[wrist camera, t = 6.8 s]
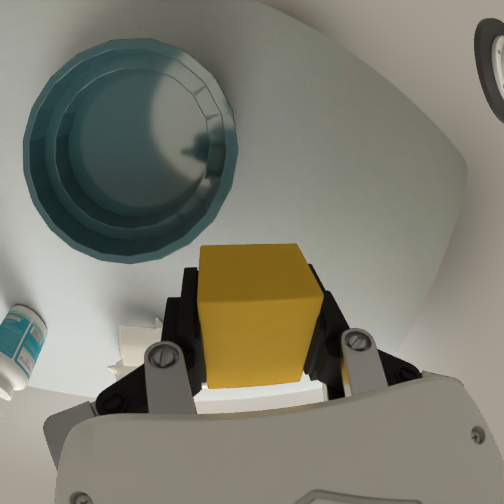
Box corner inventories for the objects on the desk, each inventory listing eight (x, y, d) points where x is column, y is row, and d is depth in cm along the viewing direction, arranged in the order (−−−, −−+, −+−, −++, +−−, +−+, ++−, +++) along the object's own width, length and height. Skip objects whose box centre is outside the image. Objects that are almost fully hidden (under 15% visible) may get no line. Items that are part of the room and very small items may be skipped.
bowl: (137, 18, 16) (116, -1, 11) (272, 140, 24) (288, 151, 19) (31, 162, 21) (-2, 180, 16) (149, 262, 29) (138, 297, 23)
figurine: (189, 300, 41) (99, 317, 34) (214, 305, 31) (91, 330, 24) (210, 389, 41) (127, 410, 34) (240, 418, 30) (133, 448, 24)
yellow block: (206, 331, 14) (207, 389, 11) (200, 244, 11) (197, 301, 8) (284, 327, 14) (300, 382, 11) (297, 242, 12) (325, 295, 9)
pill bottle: (7, 315, 30) (-27, 378, 18) (18, 294, 28) (-23, 364, 17) (40, 344, 33) (14, 410, 22) (55, 327, 32) (24, 401, 20)
